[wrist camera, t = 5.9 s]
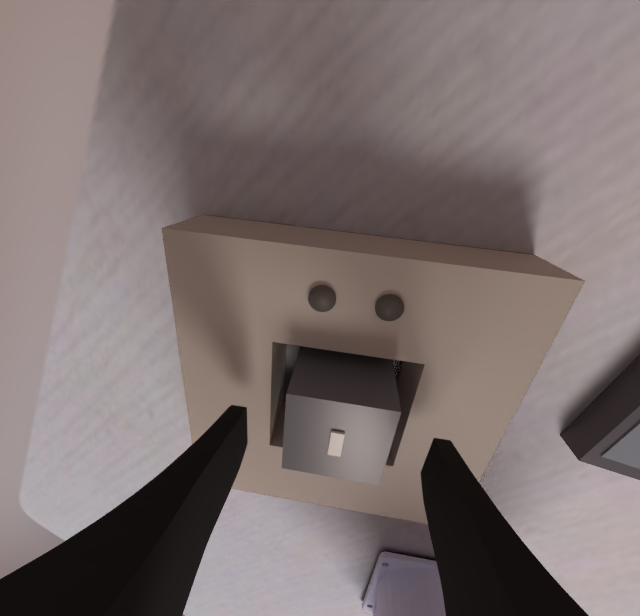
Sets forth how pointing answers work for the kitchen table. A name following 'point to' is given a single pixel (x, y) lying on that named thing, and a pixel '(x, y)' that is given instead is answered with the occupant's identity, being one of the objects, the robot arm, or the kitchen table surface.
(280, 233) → the outlet plate
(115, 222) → the kitchen table surface
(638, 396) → the phone
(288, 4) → the kitchen table surface
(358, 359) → the block
